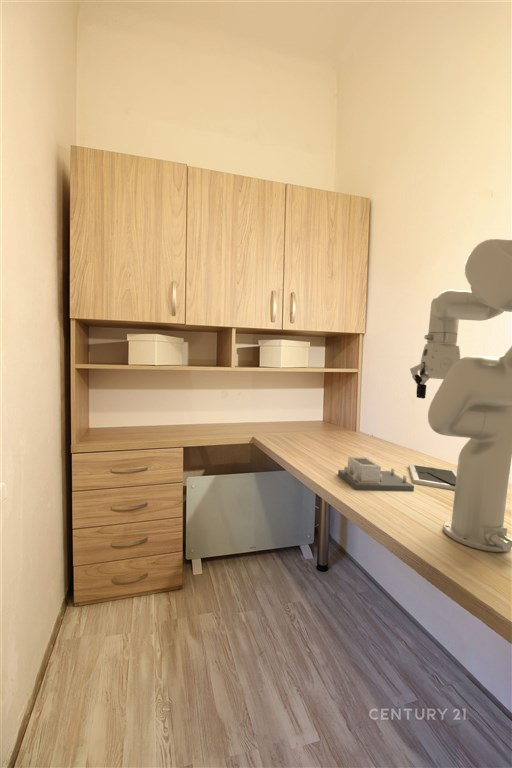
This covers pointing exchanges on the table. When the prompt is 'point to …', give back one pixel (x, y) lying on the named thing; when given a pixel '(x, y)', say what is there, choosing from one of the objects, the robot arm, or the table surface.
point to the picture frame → (433, 476)
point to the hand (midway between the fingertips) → (435, 398)
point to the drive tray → (386, 482)
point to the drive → (364, 469)
